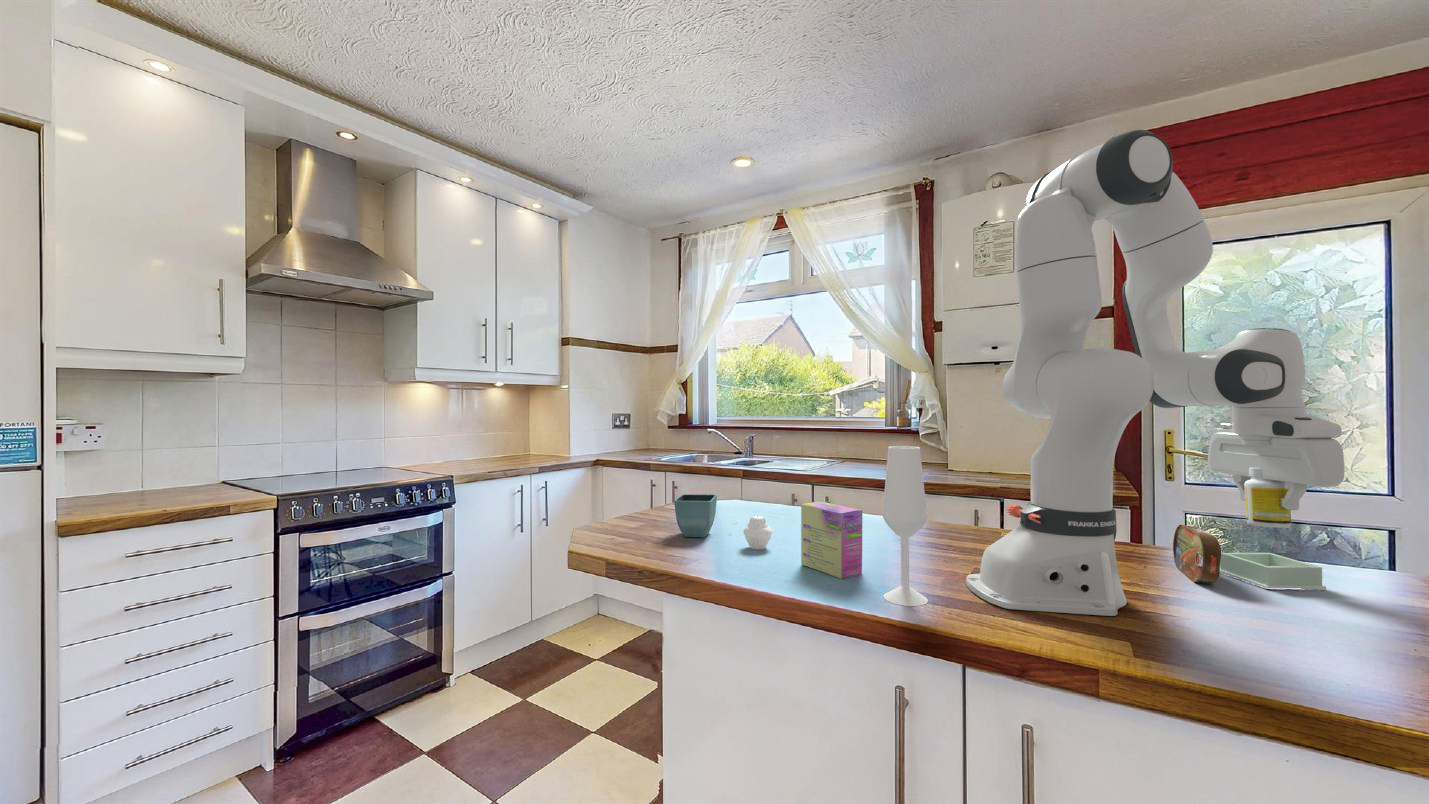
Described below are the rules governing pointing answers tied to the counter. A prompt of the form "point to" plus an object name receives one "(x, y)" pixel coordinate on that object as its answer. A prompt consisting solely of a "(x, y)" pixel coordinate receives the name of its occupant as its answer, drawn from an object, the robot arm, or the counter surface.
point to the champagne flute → (904, 512)
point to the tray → (1271, 570)
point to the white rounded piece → (757, 533)
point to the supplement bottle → (1265, 501)
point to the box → (831, 538)
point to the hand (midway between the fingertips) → (1268, 505)
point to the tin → (1197, 554)
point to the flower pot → (695, 514)
